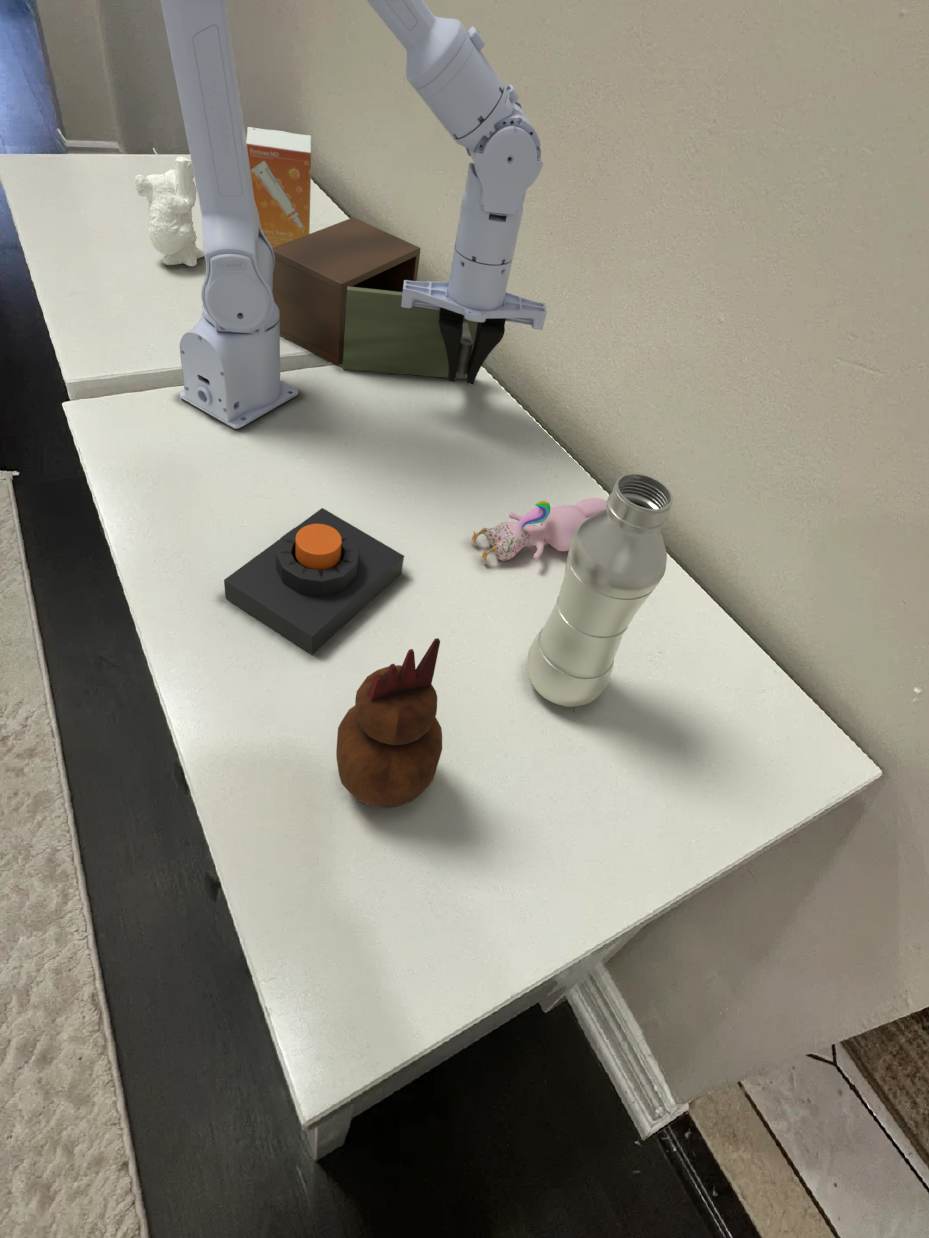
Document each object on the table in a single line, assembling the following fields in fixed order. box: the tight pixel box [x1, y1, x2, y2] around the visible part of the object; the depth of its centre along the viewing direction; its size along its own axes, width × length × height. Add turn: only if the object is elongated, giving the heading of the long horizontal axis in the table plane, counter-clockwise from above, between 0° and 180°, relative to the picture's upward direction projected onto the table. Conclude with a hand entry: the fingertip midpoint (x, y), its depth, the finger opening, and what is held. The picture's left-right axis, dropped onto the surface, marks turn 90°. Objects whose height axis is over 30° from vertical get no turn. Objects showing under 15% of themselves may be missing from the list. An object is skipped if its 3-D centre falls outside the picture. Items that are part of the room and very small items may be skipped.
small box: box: [246, 126, 313, 248], centre depth 101 cm, size 8×6×13 cm
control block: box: [223, 507, 405, 655], centre depth 63 cm, size 12×9×4 cm
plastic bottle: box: [526, 472, 674, 708], centre depth 55 cm, size 6×7×20 cm
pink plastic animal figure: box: [471, 497, 607, 565], centre depth 71 cm, size 6×6×15 cm
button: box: [295, 524, 342, 570], centre depth 61 cm, size 4×4×2 cm
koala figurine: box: [134, 156, 205, 268], centre depth 93 cm, size 8×7×12 cm
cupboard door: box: [342, 286, 478, 380], centre depth 84 cm, size 6×15×9 cm, turn 97°
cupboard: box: [272, 216, 421, 367], centre depth 90 cm, size 10×15×10 cm
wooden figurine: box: [335, 637, 443, 809], centre depth 48 cm, size 7×6×15 cm
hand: (460, 377), depth 83 cm, fingers closed on cupboard door
